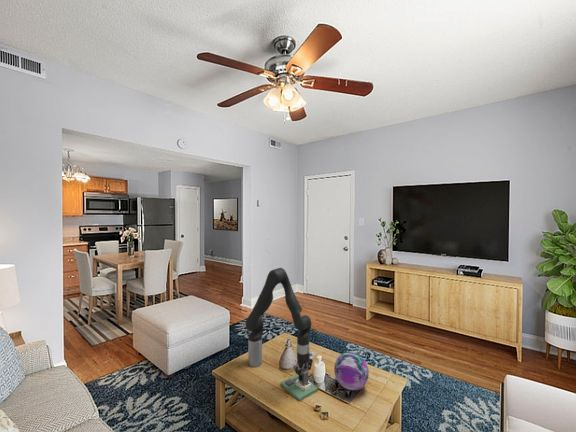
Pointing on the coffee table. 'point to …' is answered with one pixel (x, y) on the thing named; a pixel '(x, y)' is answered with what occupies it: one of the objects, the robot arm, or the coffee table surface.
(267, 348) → the coffee table surface
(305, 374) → the plug
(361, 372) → the decorative sphere
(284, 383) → the header board
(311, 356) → the handheld gaming console
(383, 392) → the coffee table surface
